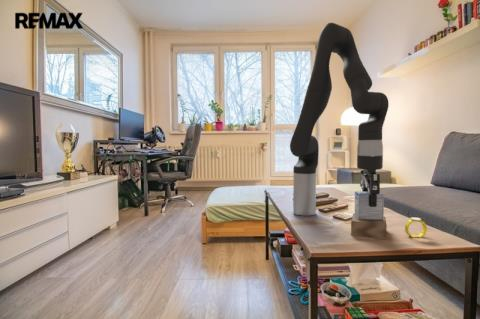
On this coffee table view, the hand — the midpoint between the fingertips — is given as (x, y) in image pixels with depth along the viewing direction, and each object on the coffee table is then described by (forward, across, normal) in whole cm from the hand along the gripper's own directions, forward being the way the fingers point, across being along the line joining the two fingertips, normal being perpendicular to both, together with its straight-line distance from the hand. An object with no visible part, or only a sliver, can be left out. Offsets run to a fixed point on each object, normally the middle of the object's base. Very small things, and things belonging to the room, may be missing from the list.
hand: (369, 203), depth 89 cm
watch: (+10, +2, +13) cm, 17 cm away
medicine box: (+5, 0, 0) cm, 5 cm away
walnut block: (+10, 0, 0) cm, 10 cm away
